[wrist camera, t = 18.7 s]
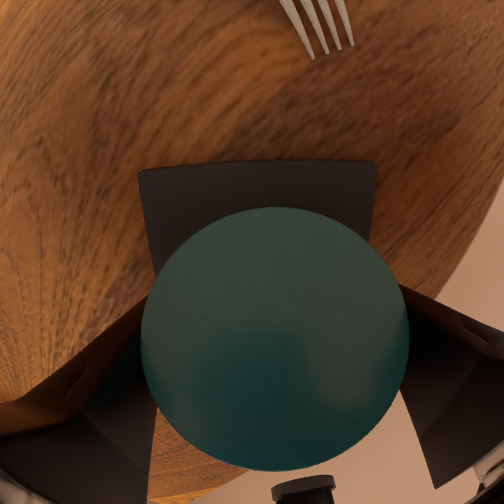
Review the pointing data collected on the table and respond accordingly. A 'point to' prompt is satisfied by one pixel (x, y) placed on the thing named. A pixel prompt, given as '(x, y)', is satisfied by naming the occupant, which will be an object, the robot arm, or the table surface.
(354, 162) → the mat
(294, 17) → the fork
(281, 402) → the jar lid
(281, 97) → the table surface
